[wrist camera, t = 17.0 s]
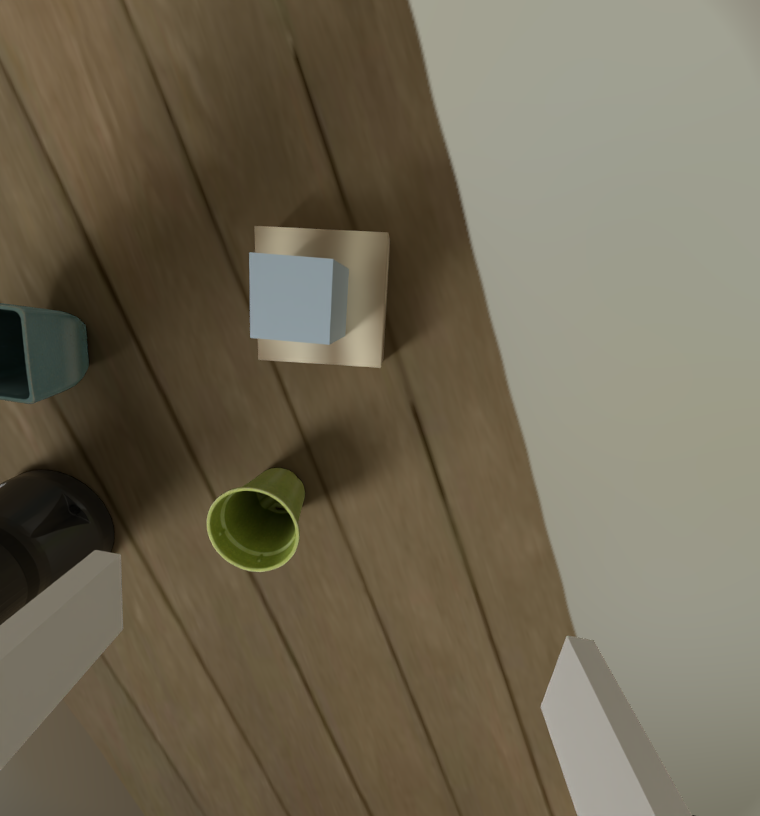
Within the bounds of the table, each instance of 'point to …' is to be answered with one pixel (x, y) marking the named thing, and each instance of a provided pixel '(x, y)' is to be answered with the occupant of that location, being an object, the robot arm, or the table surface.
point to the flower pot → (40, 353)
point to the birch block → (364, 297)
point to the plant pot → (258, 521)
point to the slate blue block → (297, 298)
